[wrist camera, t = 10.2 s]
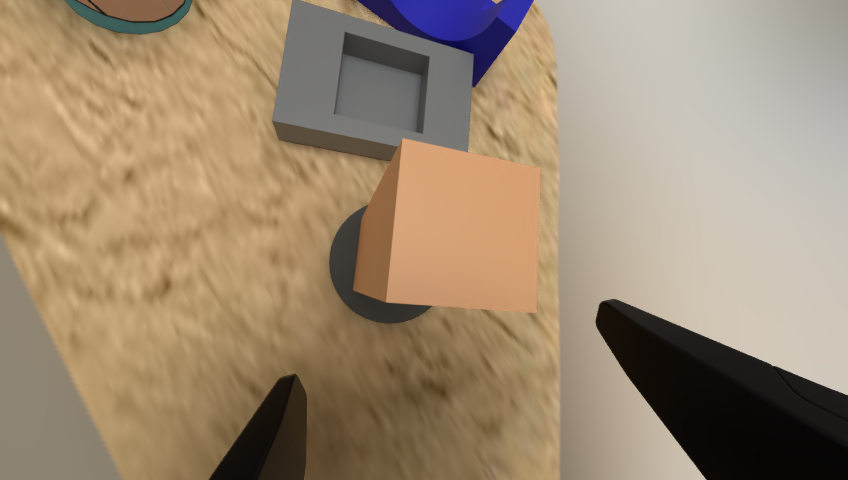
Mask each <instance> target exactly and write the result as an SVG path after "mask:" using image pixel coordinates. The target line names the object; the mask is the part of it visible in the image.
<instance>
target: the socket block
mask: <svg viewBox="0 0 848 480" xmlns="http://www.w3.org/2000/svg"><path fill="white" fill-rule="evenodd" d="M473 60H474V54H472V53H468V52H465V51H462V50H459V49H456V48H452V47H449V46H446V45H443V44H439V43H436V42H433V41H430V40H426V39H423V38H420V37H417V36H414V35H410V34H407V33H404V32H401V31H397V30H394V29H391V28H388V27H385V26H381V25H378V24H375V23H372V22H368V21H365V20H362V19H359V18H355V17H352V16H349V15H346V14H343V13H339V12H336V11H333V10H330V9H326V8H323V7H320V6H317V5H314V4H310V3H307V2H304V1H301V0H292V6H291V12H290V18H289V24H288V30H287V36H286V42H285V48H284V54H283V60H282V66H281V72H280V78H279V84H278V90H277V96H276V102H275V108H274V114H273V120H272V121H273V124H274V127H275V129H276V132H277V135H278V138H279V140H283V141H288V142H293V143H299V144H304V145H309V146H314V147H319V148H325V149H330V150H335V151H340V152H345V153H351V154H356V155H361V156H366V157H371V158H377V159H382V160H387V161H391V160H392V158H393V156H394V154H395V152H396V150H397V148H398V146H399V144H400V142H401V140H402V138H404V139H409V140H414V141H418V142H423V143H427V144H432V145H437V146H441V147H446V148H450V149H455V150H459V151H464V152H468V142H469V126H470V109H471V93H472V76H473Z"/></svg>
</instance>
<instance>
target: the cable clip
mask: <svg viewBox="0 0 848 480" xmlns="http://www.w3.org/2000/svg"><path fill="white" fill-rule="evenodd" d="M357 1H359V2H360V3H361V4H363V5H364V6H365V7H367V8H368V9H369V10H371V11H372V12H373V13H375V14H376V15H377V16H379V17H380V18H382V19H383V20H384V21H386V22H387V23H388V24H390V25H391V26H392V27H394V28H395V29H396V30H398V31H401V32H404V33H407V34H410V35H414V36H417V37H420V38H423V39H426V40H430V41H433V42H436V43H439V44H443V45H446V46H449V47H452V48H456V49H459V50H462V51H465V52H468V53H472V54H474V60H473V76H472V86H473V87H475V86H476V85H477V83H478V82H479V81H480V79H481V78H482V77H483V75H484V74H485V73H486V71H487V70H488V69H489V67H490V66H491V65H492V63H493V62H494V61H495V59H496V58H497V57H498V55H499V54H500V53H501V51H502V50H503V49H504V47H505V46H506V45H507V43H508V42H509V41H510V39H511V38H512V37H513V35H514V34H515V33H516V31H517V29H518V27H519V26H520V24H521V22H522V20H523V19H524V17H525V15H526V13H527V12H528V10H529V8H530V6H531V4H532V3H533V1H534V0H502V1H500V2H499V3H498V4H496V3H494V2H493V1H492V0H357Z"/></svg>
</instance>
